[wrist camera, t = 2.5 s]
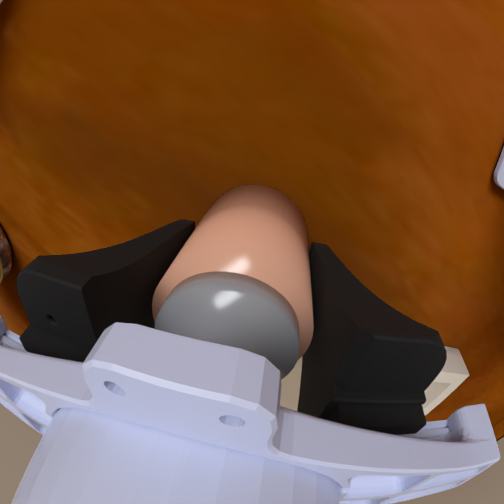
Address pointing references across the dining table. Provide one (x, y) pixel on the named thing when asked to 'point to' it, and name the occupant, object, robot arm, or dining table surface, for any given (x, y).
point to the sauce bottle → (4, 255)
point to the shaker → (243, 278)
